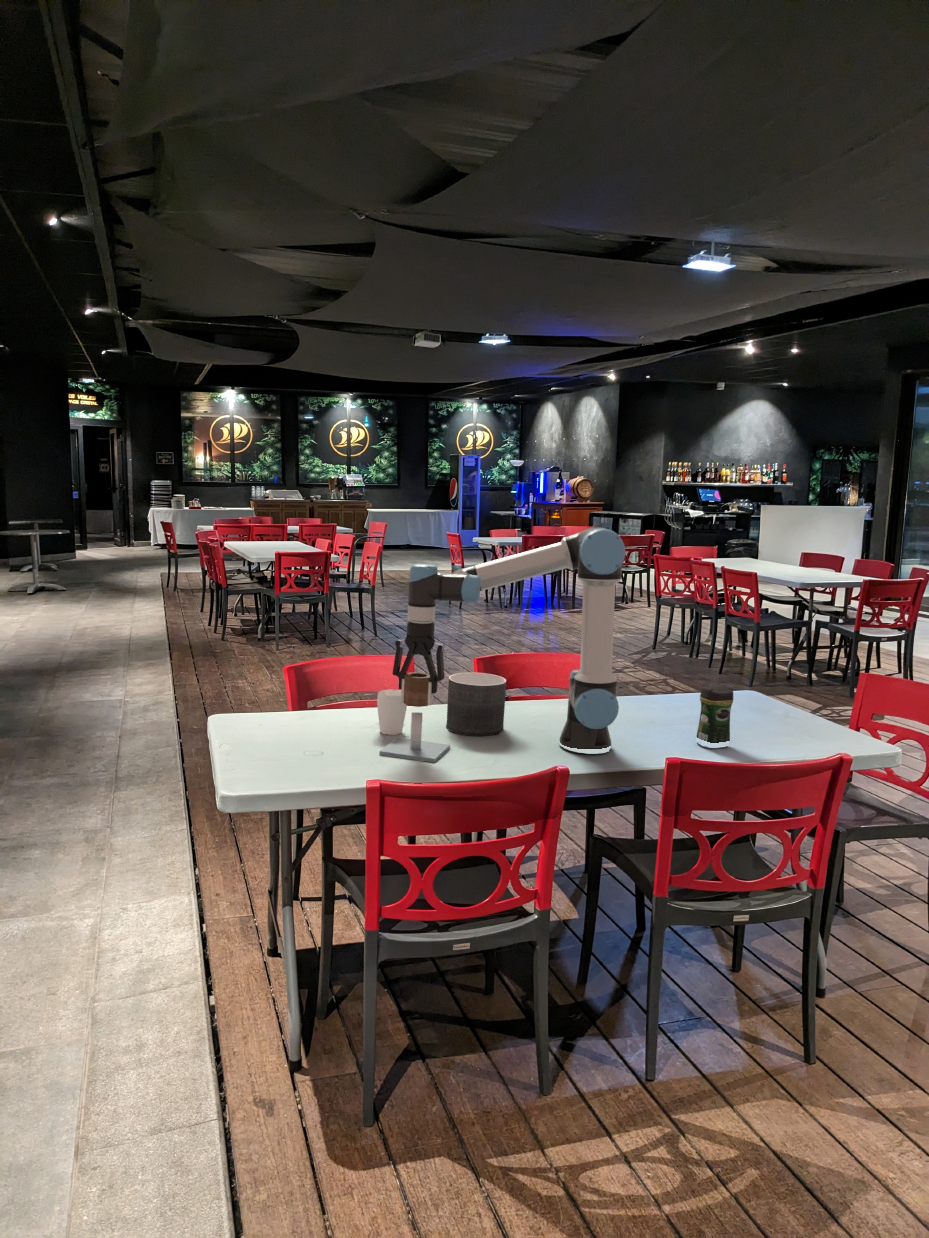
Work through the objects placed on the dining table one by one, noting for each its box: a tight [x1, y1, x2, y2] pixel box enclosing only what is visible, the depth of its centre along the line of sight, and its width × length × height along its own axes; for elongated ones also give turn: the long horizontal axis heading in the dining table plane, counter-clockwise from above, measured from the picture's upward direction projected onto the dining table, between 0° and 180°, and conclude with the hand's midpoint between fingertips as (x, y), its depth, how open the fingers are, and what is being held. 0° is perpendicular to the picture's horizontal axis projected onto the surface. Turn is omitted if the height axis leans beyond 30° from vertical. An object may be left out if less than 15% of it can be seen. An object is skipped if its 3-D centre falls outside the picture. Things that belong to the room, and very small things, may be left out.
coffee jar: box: [696, 685, 734, 743], centre depth 258 cm, size 10×8×19 cm
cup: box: [376, 689, 408, 736], centre depth 255 cm, size 9×9×12 cm
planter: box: [446, 672, 507, 737], centre depth 264 cm, size 18×18×16 cm
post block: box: [379, 711, 451, 764], centre depth 238 cm, size 16×14×11 cm
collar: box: [403, 671, 431, 708], centre depth 236 cm, size 7×7×8 cm
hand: (417, 702), depth 236 cm, fingers closed on collar, 7 cm apart
